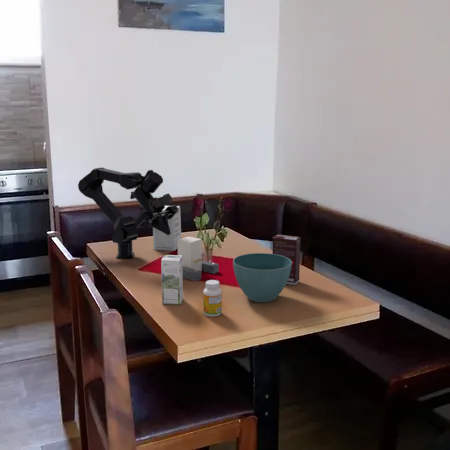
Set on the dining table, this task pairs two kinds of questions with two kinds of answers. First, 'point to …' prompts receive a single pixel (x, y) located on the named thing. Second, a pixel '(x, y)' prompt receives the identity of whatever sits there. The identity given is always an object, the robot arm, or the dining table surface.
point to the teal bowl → (262, 275)
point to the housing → (196, 274)
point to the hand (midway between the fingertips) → (169, 234)
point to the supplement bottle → (212, 298)
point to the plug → (191, 252)
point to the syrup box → (172, 279)
